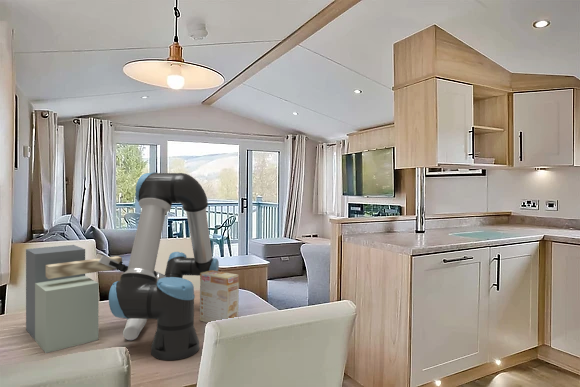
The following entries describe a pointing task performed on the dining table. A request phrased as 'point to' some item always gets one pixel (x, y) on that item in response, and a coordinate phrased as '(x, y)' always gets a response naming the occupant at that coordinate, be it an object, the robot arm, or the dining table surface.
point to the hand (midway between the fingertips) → (98, 257)
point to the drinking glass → (133, 328)
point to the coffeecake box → (218, 295)
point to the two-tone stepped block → (59, 300)
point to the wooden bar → (77, 267)
